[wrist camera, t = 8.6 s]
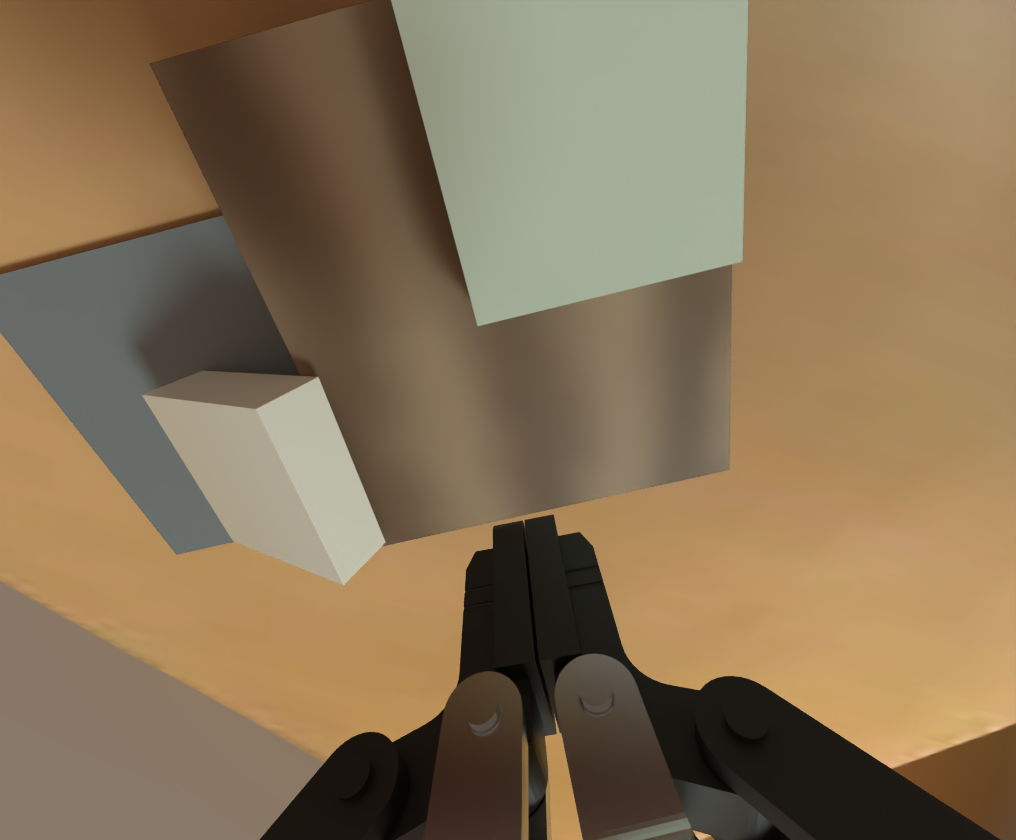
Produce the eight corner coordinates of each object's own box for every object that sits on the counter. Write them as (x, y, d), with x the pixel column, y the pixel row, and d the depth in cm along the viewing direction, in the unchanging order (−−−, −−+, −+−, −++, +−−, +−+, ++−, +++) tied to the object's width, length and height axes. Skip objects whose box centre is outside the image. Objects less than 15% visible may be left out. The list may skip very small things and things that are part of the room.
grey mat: (248, 209, 17) (244, 209, 17) (383, 504, 24) (382, 508, 23) (-30, 283, 18) (-38, 284, 17) (179, 550, 24) (176, 554, 24)
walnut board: (672, -30, 15) (735, -105, 11) (690, 427, 23) (729, 469, 19) (225, 95, 15) (149, 63, 12) (397, 493, 23) (383, 546, 20)
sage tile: (697, -67, 11) (750, -133, 9) (703, 252, 15) (742, 261, 13) (402, 17, 12) (383, -26, 9) (478, 308, 15) (477, 326, 13)
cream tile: (318, 376, 16) (255, 408, 14) (385, 542, 19) (343, 585, 17) (202, 370, 19) (141, 394, 18) (276, 508, 23) (232, 541, 21)
